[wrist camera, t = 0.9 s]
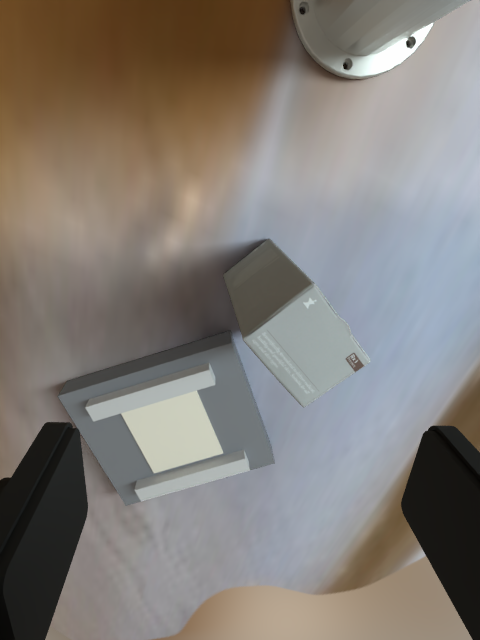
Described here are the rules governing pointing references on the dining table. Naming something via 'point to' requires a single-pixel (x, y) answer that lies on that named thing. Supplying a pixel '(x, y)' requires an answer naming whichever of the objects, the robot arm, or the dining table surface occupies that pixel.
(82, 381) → the panel
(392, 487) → the dining table surface
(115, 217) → the dining table surface
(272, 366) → the skincare box
